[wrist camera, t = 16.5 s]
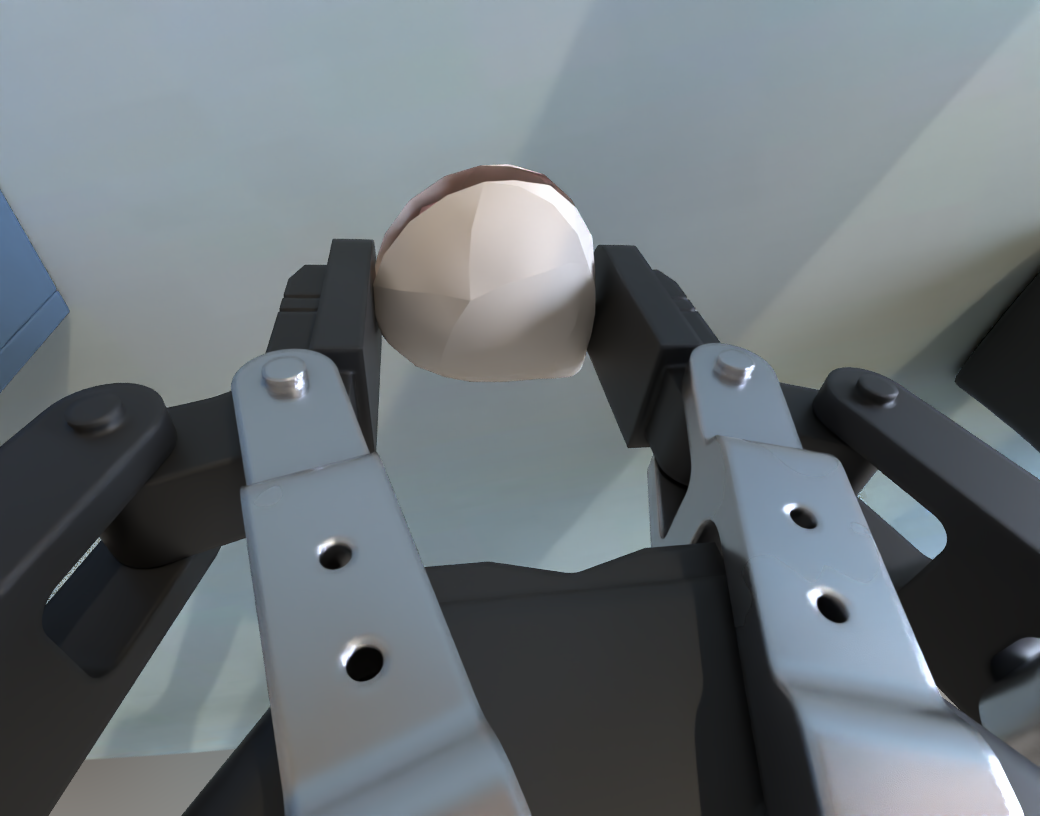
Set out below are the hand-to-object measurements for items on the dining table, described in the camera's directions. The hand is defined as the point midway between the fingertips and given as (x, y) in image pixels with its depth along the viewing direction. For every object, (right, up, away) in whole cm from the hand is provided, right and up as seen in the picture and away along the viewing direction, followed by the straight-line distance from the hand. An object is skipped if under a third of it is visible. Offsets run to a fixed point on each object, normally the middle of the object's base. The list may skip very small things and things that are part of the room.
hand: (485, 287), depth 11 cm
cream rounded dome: (0, +1, +1) cm, 1 cm away
